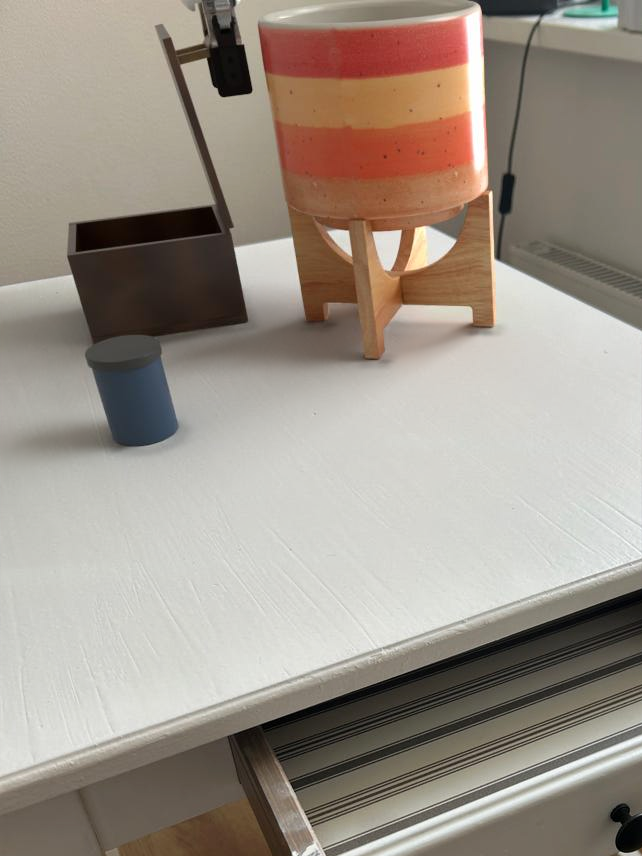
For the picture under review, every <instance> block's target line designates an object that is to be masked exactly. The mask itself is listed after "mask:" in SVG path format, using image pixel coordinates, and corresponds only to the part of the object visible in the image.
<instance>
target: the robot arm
mask: <svg viewBox="0 0 642 856" xmlns="http://www.w3.org/2000/svg"><path fill="white" fill-rule="evenodd" d="M180 1H181V3H182V5H183V6H184V7H185V8H186V9H188V10H189V11H191V12H196V4H197V9H198V13H199V14H198V15H199V19H200V23H201V29H202V34H203V38H204V39H205V37H206V35H207V34H209V37H210V42H211V46H212V48H209V51H210V56H211V57H209V58H206V62H207V66H208V71H209V75H210V81H211V85H212V86H213V88H215V89H217V92H218V95H219V97H221V98H230V97H239V96H245V95H251V94H252V93H253V91H254V89H253V83H252V79H251V72H250V68H249V63H248V57H247V53H246V48H245V44H244V43H243V41H242V40H243V39H242V36H241V31H240V26H239V22H238V16H237V13H236V7H237V6H239V4H240V3H241V2H242V0H180ZM202 43H204V40H203V41H202Z"/></svg>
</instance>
